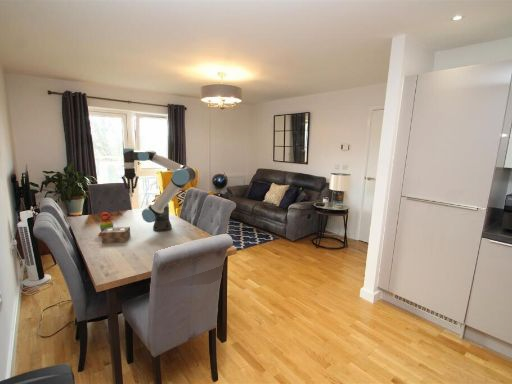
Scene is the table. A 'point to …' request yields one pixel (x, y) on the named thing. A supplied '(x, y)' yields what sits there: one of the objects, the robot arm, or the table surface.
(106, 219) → the stacking bear
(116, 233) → the brown woven basket
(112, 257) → the table surface
